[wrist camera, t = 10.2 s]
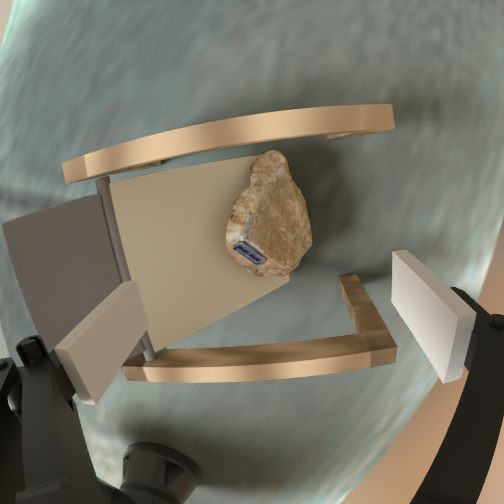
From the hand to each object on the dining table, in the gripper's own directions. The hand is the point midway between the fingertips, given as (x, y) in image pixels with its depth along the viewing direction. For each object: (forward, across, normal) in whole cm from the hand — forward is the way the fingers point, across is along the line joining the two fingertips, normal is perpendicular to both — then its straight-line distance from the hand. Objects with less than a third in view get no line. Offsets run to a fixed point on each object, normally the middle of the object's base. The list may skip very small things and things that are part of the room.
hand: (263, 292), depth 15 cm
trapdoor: (+11, -10, 0) cm, 15 cm away
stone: (+14, -1, +1) cm, 14 cm away
